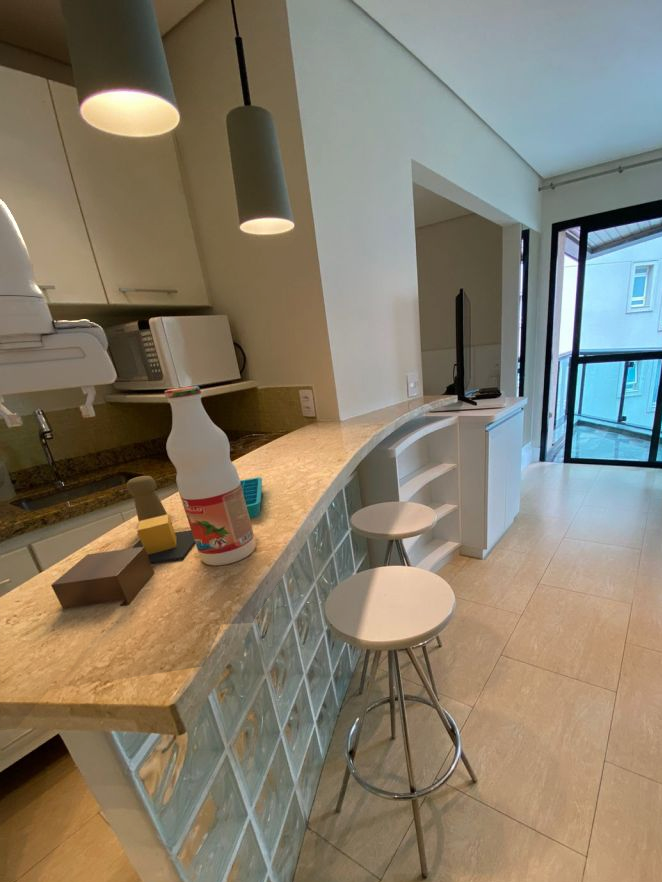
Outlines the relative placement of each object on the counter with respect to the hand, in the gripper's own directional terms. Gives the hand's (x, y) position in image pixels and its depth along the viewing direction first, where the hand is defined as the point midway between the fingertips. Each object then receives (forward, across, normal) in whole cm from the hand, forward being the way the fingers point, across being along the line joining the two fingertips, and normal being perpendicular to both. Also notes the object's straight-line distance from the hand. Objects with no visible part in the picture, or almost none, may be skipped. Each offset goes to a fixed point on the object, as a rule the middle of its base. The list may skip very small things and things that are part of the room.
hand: (53, 421), depth 63 cm
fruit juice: (+25, -20, +10) cm, 33 cm away
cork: (+25, -7, -14) cm, 30 cm away
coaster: (+25, -9, 0) cm, 27 cm away
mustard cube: (+25, -9, 0) cm, 26 cm away
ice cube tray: (+25, -24, -14) cm, 37 cm away
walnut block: (+25, -2, +12) cm, 28 cm away
